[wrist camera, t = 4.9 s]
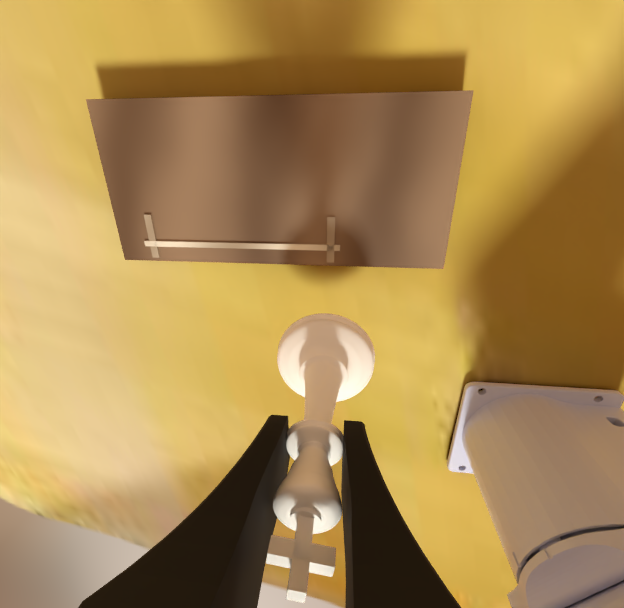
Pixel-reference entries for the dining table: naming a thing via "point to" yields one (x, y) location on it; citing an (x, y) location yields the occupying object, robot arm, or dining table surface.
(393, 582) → the robot arm
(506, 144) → the dining table surface
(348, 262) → the walnut board
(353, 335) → the chess piece
